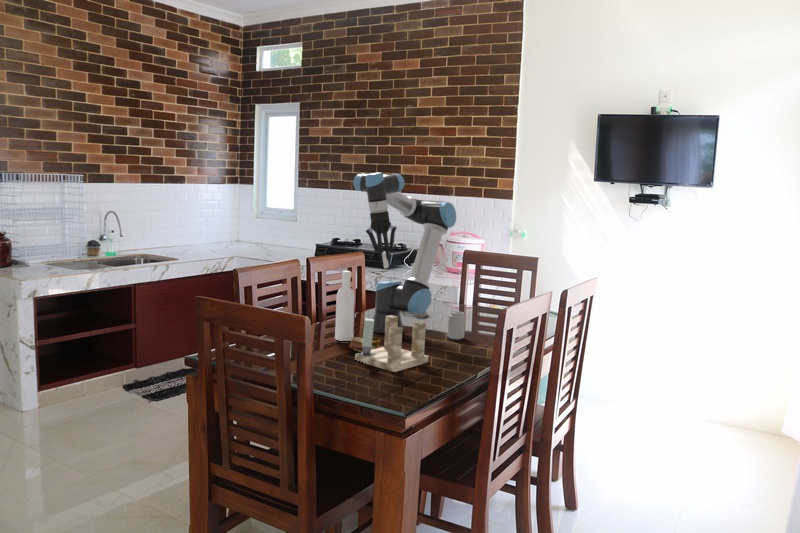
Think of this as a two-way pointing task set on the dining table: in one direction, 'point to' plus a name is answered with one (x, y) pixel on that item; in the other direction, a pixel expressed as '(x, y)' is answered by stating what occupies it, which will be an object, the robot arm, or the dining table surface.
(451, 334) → the can
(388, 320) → the stool
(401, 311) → the ceramic cottage
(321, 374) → the dining table surface
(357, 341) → the toy sandwich meal
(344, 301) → the bottle
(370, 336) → the hinged leg
